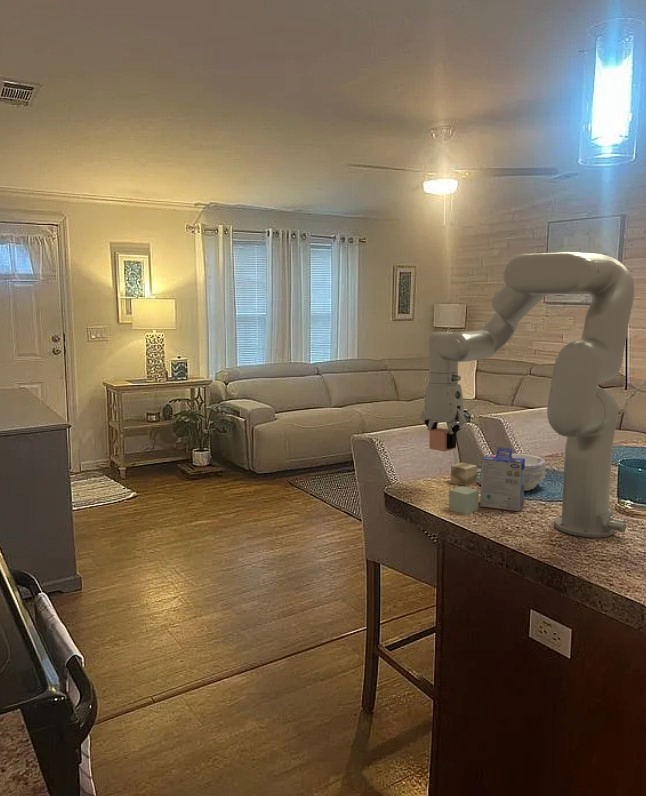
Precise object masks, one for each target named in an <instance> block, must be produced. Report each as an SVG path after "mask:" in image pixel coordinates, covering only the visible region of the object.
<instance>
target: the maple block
mask: <svg viewBox="0 0 646 796" xmlns="http://www.w3.org/2000/svg"><path fill="white" fill-rule="evenodd" d="M450 466H451V467H450V483H451V484H456V485H458V486H463V487H467V486H471V485H474V484H476V483H477V476H478V475H477V469H478V468H477V465H475V464H470V463H466V462H458V463H456V464H452V465H450Z"/></svg>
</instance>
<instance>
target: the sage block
mask: <svg viewBox="0 0 646 796" xmlns="http://www.w3.org/2000/svg"><path fill="white" fill-rule="evenodd" d="M479 496H480V495H479V489H474V488H471V487H467V486H462V485H459V486H457V487H455V488H452V489H449V491H448V510H449V511H452V512H456V513H459V512H460V513H459V514H463V515H468V514H470V513H474V512H476V511H478V510H479ZM473 511H474V512H473Z"/></svg>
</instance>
